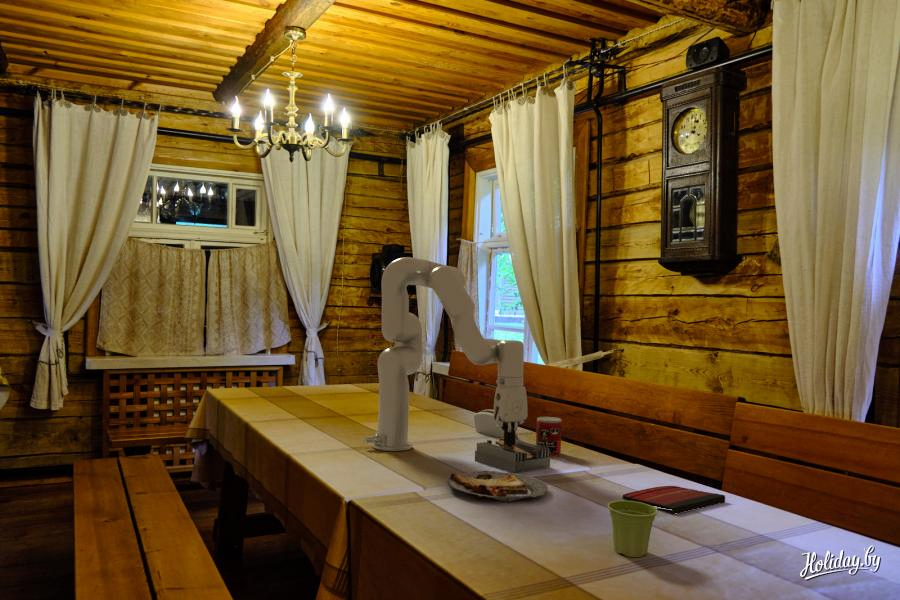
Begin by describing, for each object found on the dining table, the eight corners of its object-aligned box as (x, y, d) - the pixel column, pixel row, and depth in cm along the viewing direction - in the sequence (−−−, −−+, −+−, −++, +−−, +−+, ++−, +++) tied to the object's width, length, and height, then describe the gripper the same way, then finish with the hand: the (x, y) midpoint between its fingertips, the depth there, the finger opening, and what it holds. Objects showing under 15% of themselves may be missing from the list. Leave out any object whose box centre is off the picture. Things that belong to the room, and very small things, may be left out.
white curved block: (518, 438, 245) (513, 411, 243) (509, 443, 242) (503, 417, 240) (485, 430, 258) (479, 404, 255) (476, 435, 255) (470, 410, 252)
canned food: (532, 454, 220) (533, 419, 220) (540, 449, 227) (542, 415, 227) (555, 457, 216) (556, 421, 216) (563, 453, 223) (565, 418, 223)
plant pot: (647, 544, 141) (648, 500, 141) (662, 561, 132) (664, 515, 132) (600, 542, 141) (602, 499, 141) (613, 560, 132) (614, 514, 131)
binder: (725, 494, 174) (673, 507, 161) (725, 504, 174) (673, 517, 161) (670, 482, 187) (618, 493, 174) (670, 491, 187) (618, 502, 174)
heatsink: (514, 473, 194) (515, 452, 194) (474, 460, 208) (475, 441, 208) (549, 467, 203) (550, 447, 203) (509, 455, 216) (509, 436, 216)
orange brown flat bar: (523, 457, 200) (524, 455, 200) (495, 443, 209) (495, 441, 209) (530, 456, 202) (531, 454, 201) (502, 442, 211) (502, 440, 211)
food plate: (461, 505, 162) (462, 490, 162) (436, 480, 184) (437, 467, 185) (561, 504, 169) (562, 489, 169) (525, 480, 191) (526, 467, 191)
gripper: (500, 385, 200) (499, 450, 200) (537, 382, 209) (536, 444, 209) (483, 382, 206) (481, 445, 206) (519, 379, 215) (518, 440, 215)
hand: (509, 444), depth 207 cm, fingers closed
